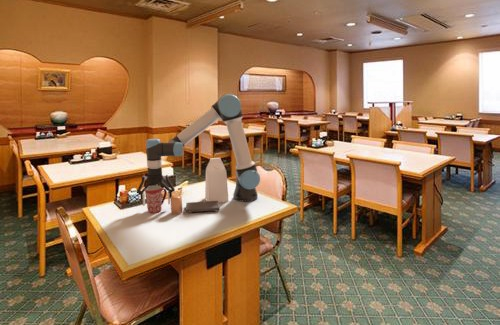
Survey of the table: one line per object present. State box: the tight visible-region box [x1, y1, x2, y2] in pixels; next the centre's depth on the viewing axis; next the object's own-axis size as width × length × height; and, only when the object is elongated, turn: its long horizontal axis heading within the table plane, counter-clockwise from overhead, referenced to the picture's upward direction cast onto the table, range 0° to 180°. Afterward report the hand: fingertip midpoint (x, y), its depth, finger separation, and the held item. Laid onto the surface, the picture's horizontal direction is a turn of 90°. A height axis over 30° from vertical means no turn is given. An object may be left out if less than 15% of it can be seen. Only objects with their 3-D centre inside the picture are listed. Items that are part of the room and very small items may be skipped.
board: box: [185, 200, 220, 214], centre depth 183 cm, size 18×12×2 cm, turn 99°
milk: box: [204, 157, 229, 203], centre depth 197 cm, size 12×12×26 cm
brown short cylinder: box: [170, 194, 184, 215], centre depth 177 cm, size 6×6×9 cm
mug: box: [144, 185, 168, 214], centre depth 181 cm, size 13×9×14 cm
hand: (156, 204), depth 181 cm, fingers open, 13 cm apart
